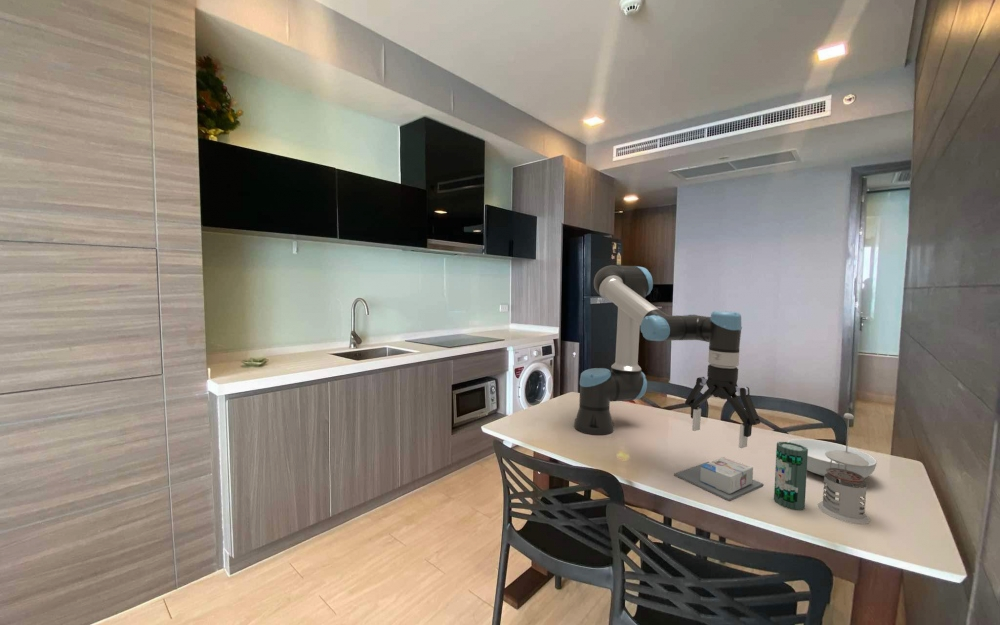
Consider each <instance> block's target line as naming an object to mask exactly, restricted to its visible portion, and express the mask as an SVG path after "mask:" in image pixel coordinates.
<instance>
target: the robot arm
mask: <svg viewBox="0 0 1000 625" xmlns="http://www.w3.org/2000/svg"><path fill="white" fill-rule="evenodd" d="M593 287H594V290H595V292H596V293H597V294H598V295H599V296H600V297H601V298H602V299H604V300H607V301H608V300H609V302H612V303H613V304H614V305H615V306H616V307H617V321H616V324H617V326H616V339H615V340H616V343H615V362H614V363H613V364H611V367H610V369H608V368H605V367H599V368H598V367H595V368H588V369H585V370H583V371H582V372H581V373H580V378H579V407H578V411H577V414H576V417H575V419H574V429H575V430H577V431H579V432H580V433H583V434H589V435H594V436H595V435H597V436H599V435H601V436H604V435H609V434H611V433H613V432H614V430H615V429H614V422H613V419H612V418H613V417H612V416H611V411H610V405H611V404H610V402H623V401H625V402H626V401H627V402H631V401H636V400H639V399H641V398H642V397H644V396H645V394H646V391H647V388H648V380H647V378H646V377H647V376H646V374H645V373H644V372H643V371H642V368H641V366H640V365H639V362H638V361H639V343H640V333H642V336H643V338H644V339H645V340H647V341H652V342H653V341H655V342H663V341H664V342H665V341H666V342H667V341H700V342H706V343H709V344H708V345H709V346H708V359H707V362H708V365H707V378H706V377H705V376H701V377H697V378H696V381H695V384H694V386H693V388H692V389H691V392H690V393H689V395H688V396H687V398H686V400H685V401H684V404H685V405H687V406H689V407H690V418H691V419H692V425H691V426H692V427H691V431H693V432H696V431H700V430H701V419H702V418H701V417H702V408H700V407H701V406H702V405H703V404H704V403H705V402H707V400H708V399H709V398H711V397H712V396H713V397H715V398H719V399H721V400H727V402H728V403H730V405H731V407H732V408H733V410H734V411H735V412H736V414H737V416H738V417H739V418H740V420H741V422H742V423H740V424H739V437H738V441H739V442H738V448H740V449H744V448H746V447H748V437H751V436H752V428H753V426H756V425H760V424H761V420H760V419H761V418H759V414H758V413H757V410H756V407H755V406H754V403H753V400H752V398H751V394H750V392H751V391H750V388H749V387H748V386H738V379H739V368H738V367H739V365H740V344H741V336H742V335H741V334H742V328H743V326H742V314H740V313H739V312H737V311H727V310H725V311H724V310H714V311H712V312H711V313H710V314H711V315H710V316H705V315H697V314H683V315H669V314H667V313H665V312H663V311H662V310H661V309H659V308H658V307H656V306H655V305H653V303H651V302H649V301H648V300H647V299H646V297H647V296H649V295H650V294H651V291H652V290H653V287H654V281H653V277H652V274H651V272H649V270H648V268H646V267H643V266H638V265H613V264H610V265H607V266H604V267H602V268H600V269H599V270H598V271H597V272H596V274H595V276H594V279H593ZM705 386H706V387H707V388H708V389H706V390H705V391H704V393H703V394H701V395H700V393H701V391H702V390H703V388H704V387H705ZM736 393H737V394H738V395H739V396H740V399H739V396H738V395H737V394H736ZM699 395H700V396H699ZM698 396H699V397H698ZM697 397H698V398H697ZM740 400H741V401H740ZM741 402H742V403H741Z"/></svg>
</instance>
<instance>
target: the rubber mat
mask: <svg viewBox="0 0 1000 625" xmlns="http://www.w3.org/2000/svg"><path fill="white" fill-rule="evenodd" d="M709 462H710V461H707V462H704V463H700V464H697V465H695V466H692V467H689V468H686V469H684V470H680V471H677V472H674V477H677V478H679V479H680V480H683V481H685V482H687V483H688V484H689V483H690V484H692V485H693V486H695V487H698V488H699V489H702V490H704V491H706V492H708V493H710V494H713V495H715V496H717V497H719V498H721V499H723V500H725V501H727V502H730V501H732V500H735V499H737V498H739V497H742V496H744V495H747V494H748V493H751V492H753V491H755V490H757V489H759V488H762V487H764V483H763V482H760V481H759V480H758V481H757V480H756V479H753V483H752V484H750V485H747V486H745V487H743V488H741V489H739V490H737V491H735V492H733V493H731V494H728V493H726V492H724V491H721V490H719V489H717V488H714V487H712V486H709V485H707V484H705V483H702V482H700V469H701V465H704V464H707V463H709Z"/></svg>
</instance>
